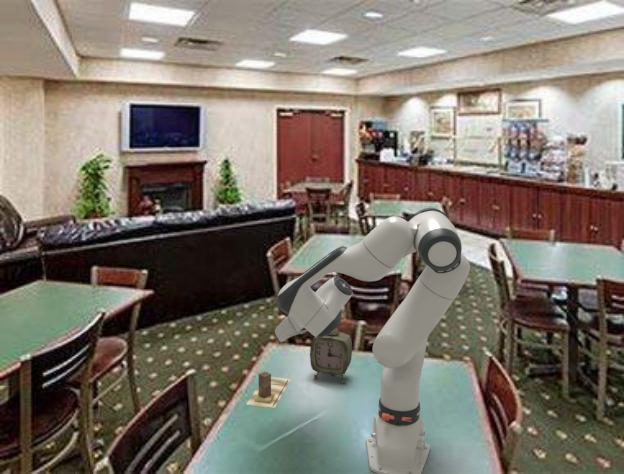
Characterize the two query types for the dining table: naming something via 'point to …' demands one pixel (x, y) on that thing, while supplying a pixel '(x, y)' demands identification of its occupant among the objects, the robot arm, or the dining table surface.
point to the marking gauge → (265, 388)
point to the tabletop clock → (331, 354)
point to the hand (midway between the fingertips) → (291, 335)
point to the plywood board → (276, 386)
